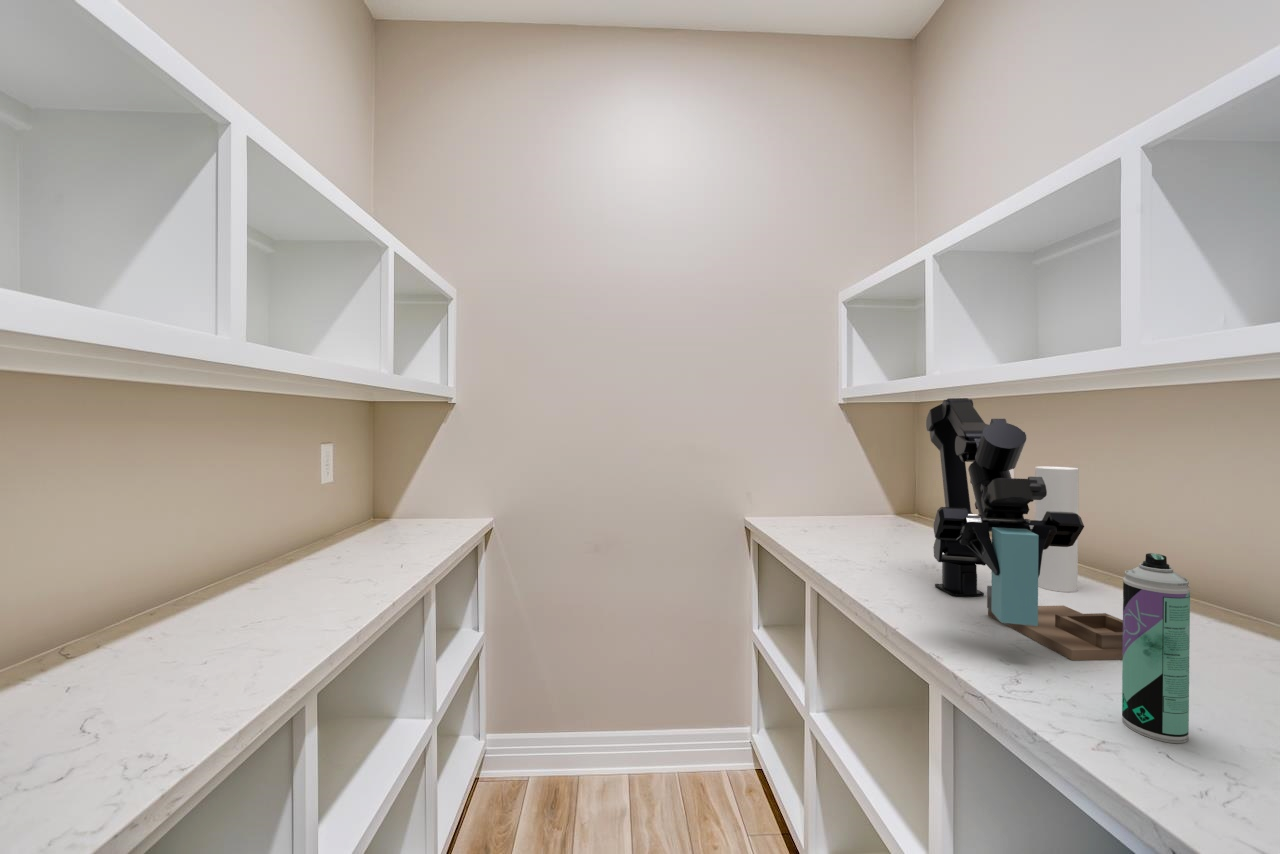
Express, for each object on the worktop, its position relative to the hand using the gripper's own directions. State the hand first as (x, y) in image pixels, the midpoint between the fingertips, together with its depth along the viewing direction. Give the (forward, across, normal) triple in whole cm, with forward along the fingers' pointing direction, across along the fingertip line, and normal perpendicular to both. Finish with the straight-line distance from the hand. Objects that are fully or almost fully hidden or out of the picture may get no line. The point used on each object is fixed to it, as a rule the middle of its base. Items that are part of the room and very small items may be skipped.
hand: (1017, 575), depth 77 cm
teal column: (+4, 0, +6) cm, 7 cm away
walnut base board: (-1, +11, +19) cm, 22 cm away
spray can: (+19, +9, -1) cm, 21 cm away
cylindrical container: (-21, +20, +40) cm, 49 cm away
